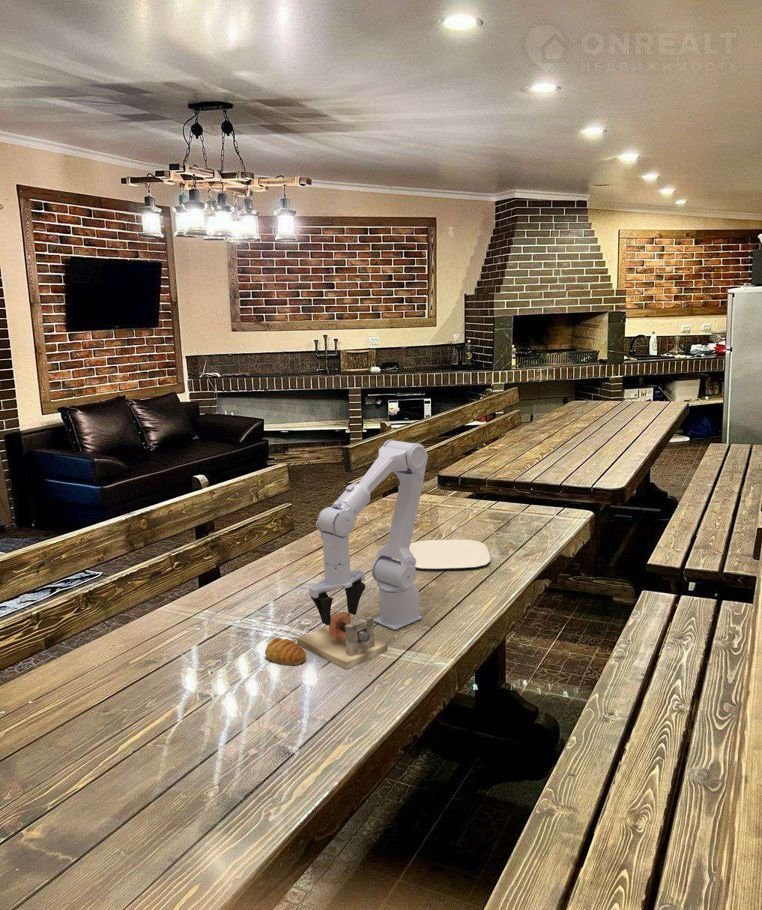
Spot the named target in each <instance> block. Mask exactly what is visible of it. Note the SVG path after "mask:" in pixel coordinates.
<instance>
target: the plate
mask: <svg viewBox="0 0 762 910" xmlns="http://www.w3.org/2000/svg"><path fill="white" fill-rule="evenodd" d="M409 550H410V552H411V553H412V554H413V556H414V557H415V559H416V565H415V569H419V570H457V569H458V570H461V569H462V570H463V569H475V568H481V567H483V566H487V565H488V564H489V563H490V562H491V554H490V551H489V549H488V547H487V546H486V544H485V543H483V542H481V541H479V540H473V539H457V538H456V539H431V540H429V539H428V540H419V541H413V542H411V543H410V548H409Z"/></svg>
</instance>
